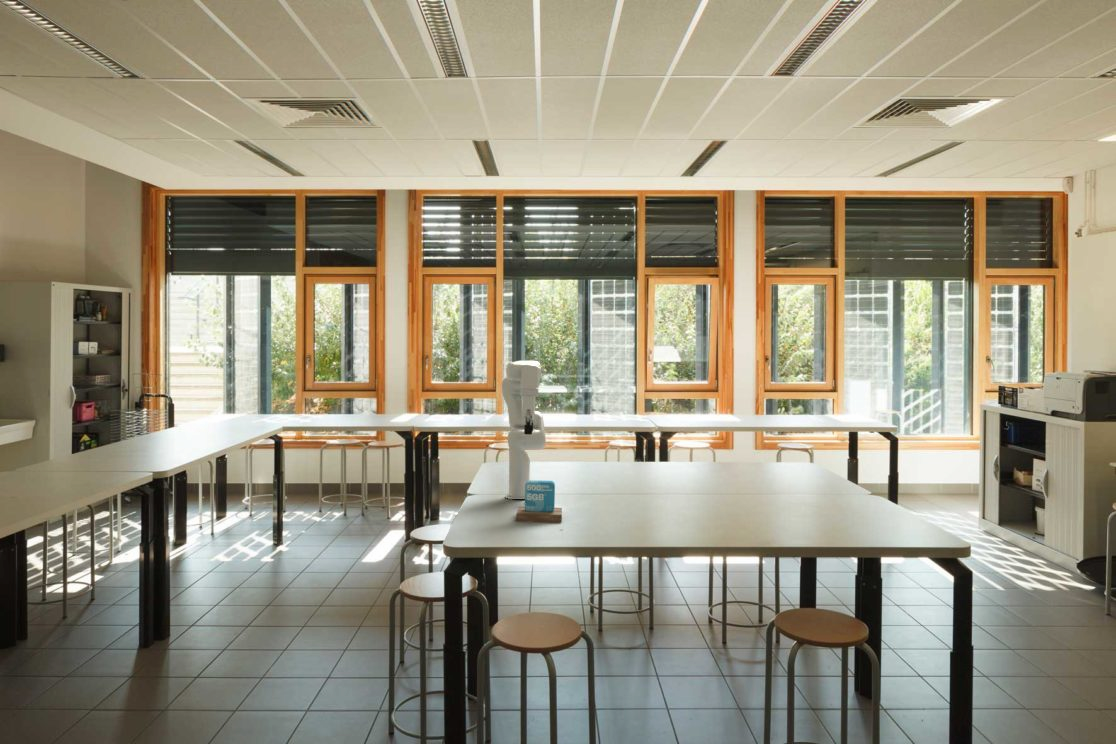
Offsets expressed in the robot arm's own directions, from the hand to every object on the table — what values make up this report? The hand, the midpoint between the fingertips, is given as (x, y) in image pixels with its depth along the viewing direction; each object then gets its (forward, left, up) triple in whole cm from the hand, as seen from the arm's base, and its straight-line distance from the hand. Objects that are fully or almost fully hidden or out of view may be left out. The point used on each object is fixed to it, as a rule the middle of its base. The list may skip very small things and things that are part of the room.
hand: (528, 432), depth 325 cm
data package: (+17, +6, -30) cm, 35 cm away
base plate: (+17, +6, -33) cm, 37 cm away
